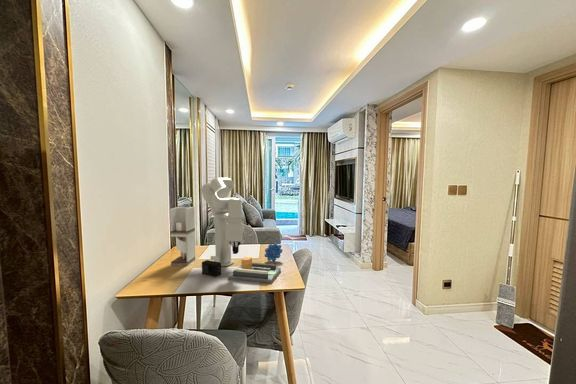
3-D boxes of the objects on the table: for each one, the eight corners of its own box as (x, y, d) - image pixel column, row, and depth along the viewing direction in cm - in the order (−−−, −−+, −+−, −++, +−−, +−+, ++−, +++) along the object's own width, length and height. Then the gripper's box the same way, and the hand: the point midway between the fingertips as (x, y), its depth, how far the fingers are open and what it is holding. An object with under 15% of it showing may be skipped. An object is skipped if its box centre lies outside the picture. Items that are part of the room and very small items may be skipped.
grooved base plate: (232, 275, 136) (232, 269, 136) (245, 265, 151) (245, 259, 151) (266, 278, 131) (266, 272, 131) (276, 268, 146) (276, 262, 146)
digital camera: (200, 274, 142) (199, 262, 142) (207, 271, 147) (207, 259, 146) (214, 278, 137) (213, 265, 137) (221, 274, 142) (221, 262, 142)
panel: (227, 279, 135) (227, 273, 135) (242, 267, 153) (242, 262, 153) (270, 283, 130) (270, 277, 129) (280, 271, 147) (280, 266, 147)
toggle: (239, 271, 141) (239, 259, 140) (243, 268, 145) (243, 256, 145) (250, 272, 139) (250, 260, 139) (253, 269, 144) (253, 257, 144)
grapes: (282, 258, 171) (282, 241, 170) (282, 262, 164) (282, 243, 163) (264, 259, 170) (264, 241, 169) (264, 262, 163) (264, 243, 163)
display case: (179, 259, 170) (178, 206, 168) (195, 259, 169) (194, 206, 168) (171, 265, 158) (169, 208, 157) (188, 265, 158) (187, 208, 157)
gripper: (219, 221, 141) (220, 254, 141) (244, 221, 137) (245, 255, 138) (226, 219, 148) (226, 251, 149) (250, 220, 145) (250, 252, 145)
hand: (235, 253), depth 143 cm, fingers closed
